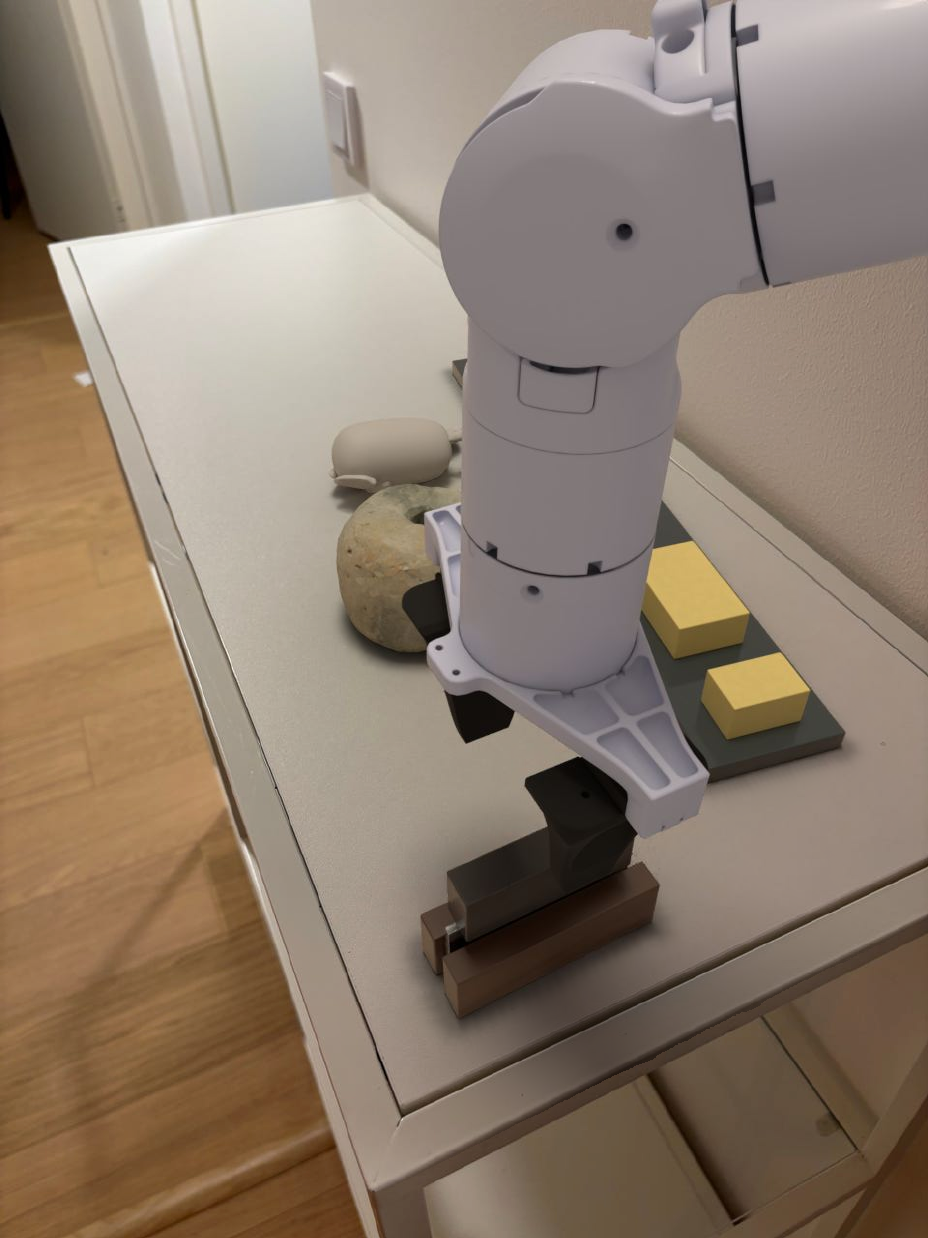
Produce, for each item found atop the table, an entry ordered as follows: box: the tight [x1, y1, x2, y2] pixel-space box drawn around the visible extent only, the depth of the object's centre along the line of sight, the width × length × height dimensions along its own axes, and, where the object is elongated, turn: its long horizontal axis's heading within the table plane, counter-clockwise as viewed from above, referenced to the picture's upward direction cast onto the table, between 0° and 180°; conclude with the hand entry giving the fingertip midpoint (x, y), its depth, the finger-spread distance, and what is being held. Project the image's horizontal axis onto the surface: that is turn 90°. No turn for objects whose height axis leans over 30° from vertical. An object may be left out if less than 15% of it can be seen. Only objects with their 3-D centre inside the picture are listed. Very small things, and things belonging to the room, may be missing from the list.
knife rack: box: [419, 861, 661, 1019], centre depth 43 cm, size 4×10×3 cm, turn 117°
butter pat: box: [701, 652, 810, 739], centre depth 52 cm, size 3×4×2 cm
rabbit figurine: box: [328, 417, 462, 495], centre depth 70 cm, size 6×5×12 cm
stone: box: [335, 483, 461, 654], centre depth 58 cm, size 10×10×10 cm
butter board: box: [451, 358, 847, 784], centre depth 67 cm, size 46×8×1 cm, turn 17°
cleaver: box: [445, 826, 636, 955], centre depth 42 cm, size 2×9×7 cm, turn 117°
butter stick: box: [641, 540, 751, 659], centre depth 58 cm, size 7×4×2 cm, turn 17°
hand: (530, 798), depth 38 cm, fingers open, 7 cm apart
